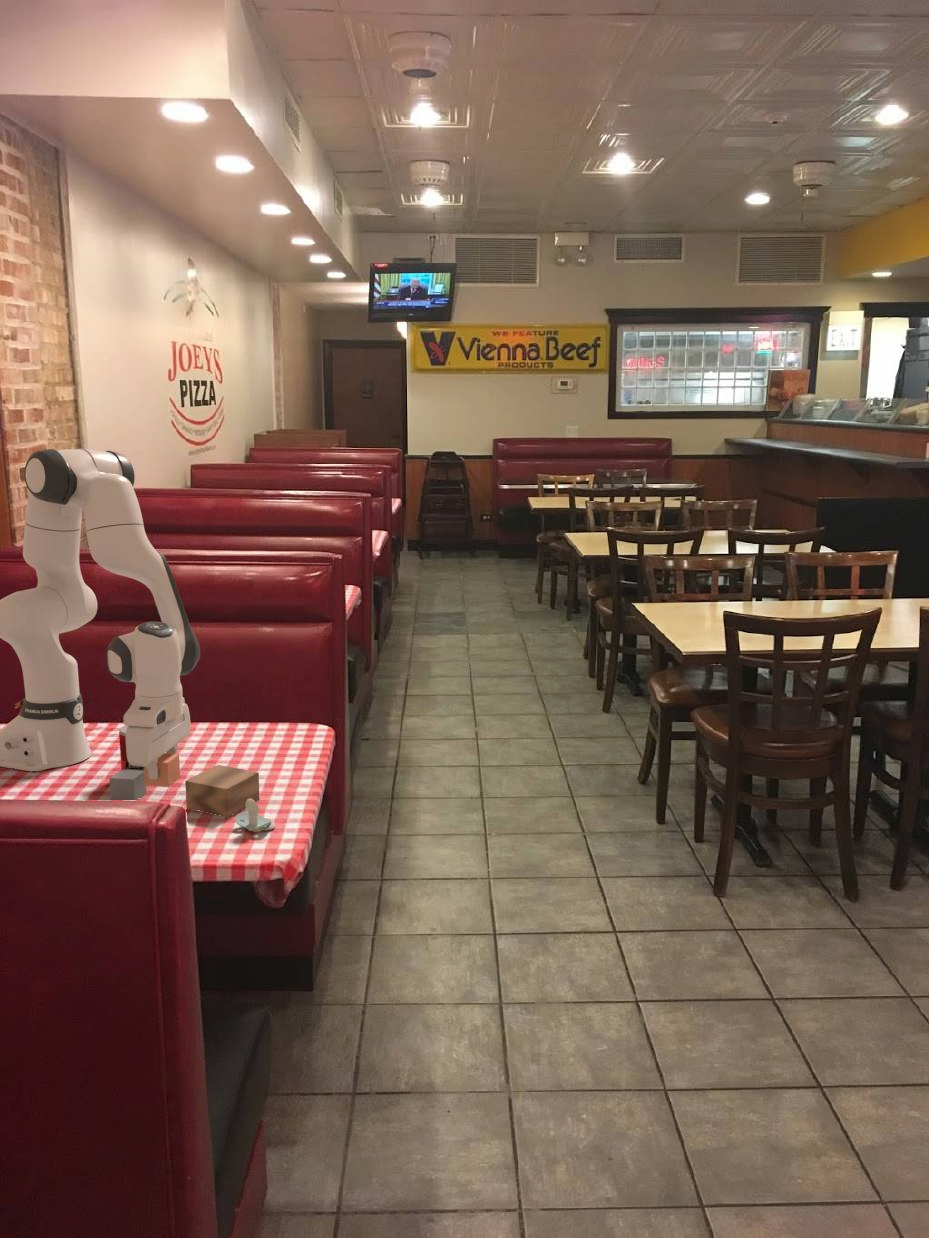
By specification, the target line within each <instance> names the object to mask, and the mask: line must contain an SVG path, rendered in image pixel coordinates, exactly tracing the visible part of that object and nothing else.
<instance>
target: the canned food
mask: <svg viewBox="0 0 929 1238" xmlns="http://www.w3.org/2000/svg"><path fill="white" fill-rule="evenodd" d="M127 727H128V726H127V725H123V726H121V727H120V728H119V730H118V731H119V737H118V739H119V740H118V741H119V752H120V753H119V754H120V767H121V769H120V770H122V769H126V770H141V771H144V766H132V765H130V763H129V762H128V759H127V752H126V730H127Z"/></svg>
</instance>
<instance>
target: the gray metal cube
mask: <svg viewBox="0 0 929 1238" xmlns="http://www.w3.org/2000/svg"><path fill="white" fill-rule="evenodd" d="M109 789H110V801H111V800H138V801H139V800H140V799H141V798H143V797H145V796H146V795H147V785H145V778H144V771H141V770H126V769H120V770H119V771H118V772H116V773H114V774H113V775H112V776H110V777H109ZM138 798H140V799H138Z"/></svg>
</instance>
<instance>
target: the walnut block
mask: <svg viewBox="0 0 929 1238" xmlns="http://www.w3.org/2000/svg"><path fill="white" fill-rule="evenodd" d="M184 783H185V802H186V809H187V808H188V809H187V810H190V809H192V810H191V811H195V810H200V811H203V812H202V813H204V812H208V813H207V814H209V813H212V814H211V815H214V814H216V815H215V816H218V815H221V816H220V817H223V816H225V817H224V818H230V817H232V816H233V815H232V814H234V813H235V814H237V813H238V812H237V811H239V810H241V811H242V810H243V808H244V809H246V808H245V804H246V801H247V800H248V799H253V800H254V801H256V802H258V801H260V773H259V771H253V770H247V769H243V768H238V767H231V766H227V765H222V764H217V765H215V766H213V767H211V768H208V769H206V770H204V771H203V772H200V773H198V774H196V775H194V776H193V777H190V778H188V779H186V780H185V782H184ZM257 800H258V801H257ZM200 811H199V812H200ZM236 812H237V813H236ZM239 812H240V811H239ZM235 814H234V815H235ZM231 815H232V816H231ZM229 816H230V817H229Z"/></svg>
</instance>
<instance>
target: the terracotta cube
mask: <svg viewBox="0 0 929 1238" xmlns="http://www.w3.org/2000/svg"><path fill="white" fill-rule="evenodd" d="M156 764H157V767H158V768H160V777H158V778H157V779H150V778H149V777H148V770H147V768H146V766H144V778H145V785H146V786H150V787H151V786H152V787H164V788H170V787H171V786H172V785H173V784H174V783H175V782H177V781H178V780H179V779H181V770H180V767H181V765H180V754H179V753H178V754H177V753H176V754H168V753H164V754H163V755H161V756H160V757H159V758H158V762H157V763H156Z"/></svg>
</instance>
